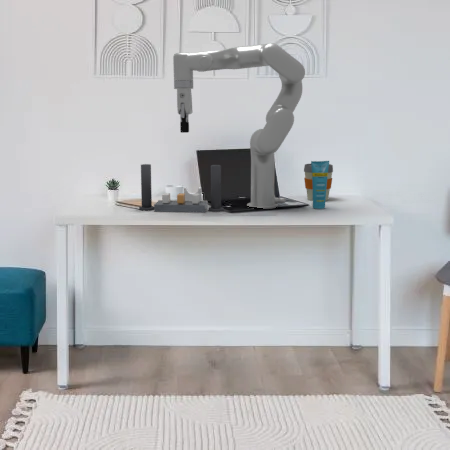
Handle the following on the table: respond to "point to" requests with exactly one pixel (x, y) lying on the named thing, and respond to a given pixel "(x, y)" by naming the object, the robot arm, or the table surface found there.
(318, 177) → the tube
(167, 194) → the white rectangular block
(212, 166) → the post
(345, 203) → the table surface
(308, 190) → the reusable coffee cup
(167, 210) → the breaker panel
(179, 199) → the block
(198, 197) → the paddle
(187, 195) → the bracket
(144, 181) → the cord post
